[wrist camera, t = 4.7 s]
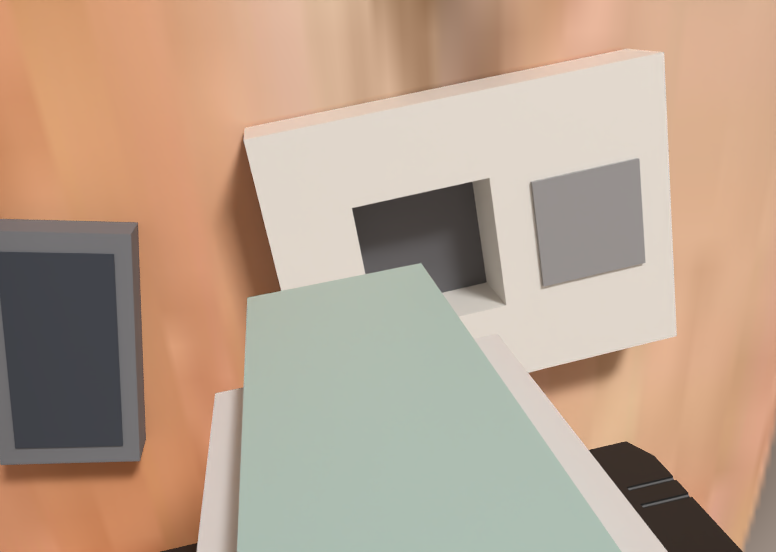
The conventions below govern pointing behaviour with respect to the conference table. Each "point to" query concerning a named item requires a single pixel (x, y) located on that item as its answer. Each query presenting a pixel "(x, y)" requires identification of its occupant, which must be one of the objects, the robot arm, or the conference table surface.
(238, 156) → the conference table surface
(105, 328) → the phone
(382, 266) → the outlet board
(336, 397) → the pale green block
